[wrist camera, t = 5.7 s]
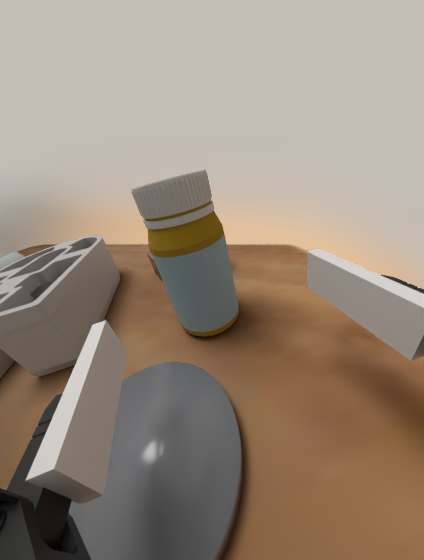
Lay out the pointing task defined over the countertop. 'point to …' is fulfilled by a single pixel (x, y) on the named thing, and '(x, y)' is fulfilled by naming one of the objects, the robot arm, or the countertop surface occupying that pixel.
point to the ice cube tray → (54, 304)
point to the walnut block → (154, 264)
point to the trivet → (167, 471)
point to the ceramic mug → (10, 259)
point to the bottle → (190, 251)
